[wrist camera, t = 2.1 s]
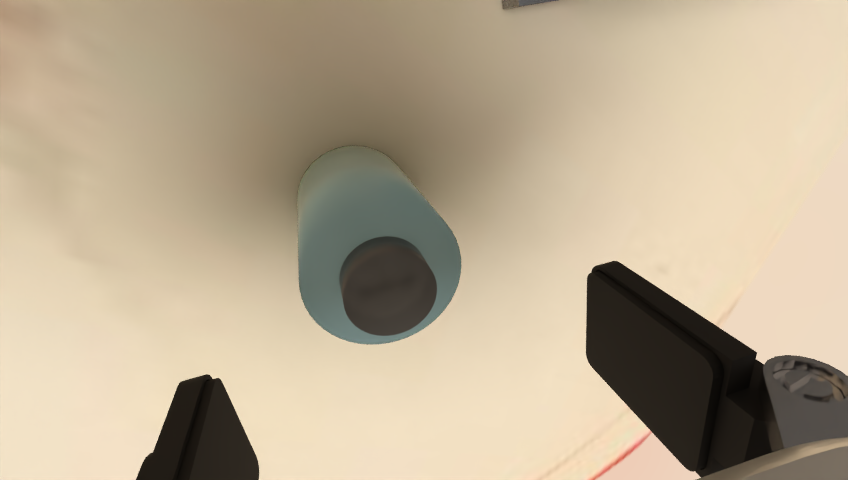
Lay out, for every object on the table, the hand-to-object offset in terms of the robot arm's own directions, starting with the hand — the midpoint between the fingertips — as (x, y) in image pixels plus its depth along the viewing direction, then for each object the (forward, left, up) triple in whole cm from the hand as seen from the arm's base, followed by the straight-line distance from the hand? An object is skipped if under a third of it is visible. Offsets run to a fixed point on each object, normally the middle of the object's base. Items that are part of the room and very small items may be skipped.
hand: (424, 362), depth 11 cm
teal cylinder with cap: (-1, 0, -11) cm, 11 cm away
